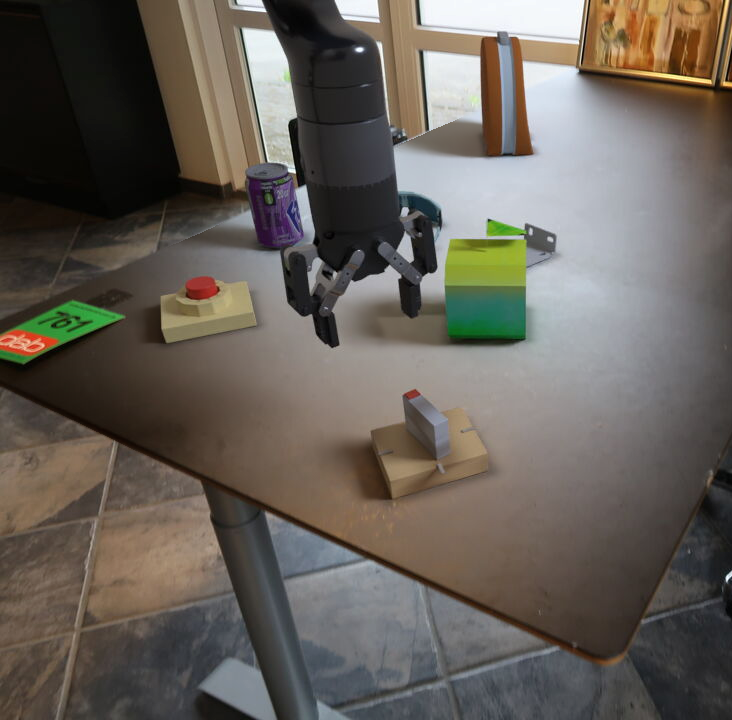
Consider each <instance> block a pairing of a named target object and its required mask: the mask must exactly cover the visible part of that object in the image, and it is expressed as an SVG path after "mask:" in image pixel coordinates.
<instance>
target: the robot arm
mask: <svg viewBox="0 0 732 720" xmlns="http://www.w3.org/2000/svg"><path fill="white" fill-rule="evenodd" d="M261 2H262V5H263V7H264V10H265V12H266V14H267V17H268V20H269V22H270V24H271V27H272V30H273V32H274V34H275V37H276V38H277V40H278V42H279V44H280V47H281V48H282V51H283V53H284V55H285V57H286V60H287V65H288V72H289V79H290V85H291V90H292V95H293V101H294V107H295V112H296V120H297V121H296V122H297V141H298V148H299V153H300V160H299V162H300V167H301V170H302V172H303V177H304V181H305V187H306V188H305V189H306V193H307V199H308V204H309V211H310V216H311V220H312V221H311V222H312V224H313V225H312V226H313V228H314V236H313V240H312V243H309V244H305V245H300V246H296V247H295V246H294V245H290V244H284V245H283V246H282V247H281V248H279V255H280V262H281V268H282V277H283V282H284V283H283V284H284V289H285V294H286V302H287V304H288V306H290V307H291V308H292V309H293V310H294V311H295V312H296V313H297V314H298V315H299V316H300V317H302V318H306V317H309V316H310V315H311V317H312V322H313V326H314V331H315V335H316V337H317V338H318V339H319V341H321V342H322V343H323V344H324V345H328V346H329V348H331V349H334V348H337V347H340V339H339V338H340V337H339V333H338V328H337V321H336V315H335V313H334V312H333V309H334V308H335V306H336V303H337V302H338V300H339V298H340V297H341V296H344V295H345V294H346V292H347V289H348V287H349V285H350V283H351V282H353V283H357V282H360V281H362V280H364V279H366V278H367V277H369V276H375V275H377V276H378V275H380V274H383V273H385V272H386V269H388V267H389V266H390V267H391V268H392V269H393V270H395V271H396V272H397V273H398V274H399V275H400V278H398V279H397V285H398V292H399V302H400V309H401V312H402V313H403V314H404V315H405V316H407V317H408V318H409V319H416V317H417V318H418V317H419V311H421V309H422V305H423V304H422V293H421V283H422V281H423V277H425V276H426V275H427V274H434V273H436V272H437V270H438V268H439V265H438V258H437V250H436V243H435V242H434V237H435V235H434V228H433V223H432V220H431V218H429V217H428V216H426V215H425V214H423V213H422V212H420V211H418V210H416V209H411V210H409V209H408V211H407V213H406V216H403V217H399V213H400V208H399V198H398V191H399V190H398V180H397V179H398V178H397V169H396V157H395V149H394V140H393V134H392V130H391V126H390V122H389V118H388V110H387V102H386V101H387V100H386V92H385V91H386V89H385V81H384V74H383V71H384V70H383V64H382V58H381V53H380V52H381V51H380V48H379V45H378V43H377V41H376V40H375V39H374V38H373V36H372V35H370V34H368V33H367V32H366V31H364V30H362V29H359V28H357V27H355V26H354V25H352V24H350V23H349V22H347V20H346V19H345V18H344V17H343V16H342V14H341V12H340V9H339V7H338V5H337V2H336V1H335V0H261ZM405 234H406V235H407V236H409V238H410V244H411V249H412V250H411V251H412V258H413V260H412V261H411V262H409V261H408V260H407V259H406V258H404V256H403V255H401V254H400V253H399V252H398V248H399V247H400V244H401V243H402V241H403V239H404V236H405ZM317 258H318V259H320V260H321V261H322V262H321V263H320V266H319V268H318V270H317V272H316V274H315V283H314V285H313V287H312V289H310V282H309V274H308V273H311V272H312V270H313V268H312V267H313V263H314V261H315V259H317ZM334 273H336V276H335V278H334ZM310 290H311V291H310Z"/></svg>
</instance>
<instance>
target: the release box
mask: <svg viewBox="0 0 732 720" xmlns="http://www.w3.org/2000/svg"><path fill="white" fill-rule="evenodd" d="M214 280H215V283H216V286H217V290H218V293H217V294H216V295H215V296H213V297H210V298H208V299H203V300H191V299H190V298H189V297H188V294H187V290H186V287H185V285H184V286H182V287H181V288H180V289H179V290H178V291H177V292H175V293H169V294H165V295H163V294H162V295H160V327H161V328H160V329H161V332H162V334H163V338H164V342H165V343H166V344H172V343H176V342H182V341H186V340H190V339H196V338H200V337H201V338H202V337H205V336H211V335H216V334H222V333H226V332H231V331H236V330H241V329H247V328H251V327H257V326H258V325H257V320H256V315H255V311H254V306H253V302H252V297H251V294H250V290H249V289H250V288H249V286H248V281H247V280H242V281H237V282H232V283H226V282H225V281H223V280H219V279H214Z"/></svg>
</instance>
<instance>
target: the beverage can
mask: <svg viewBox="0 0 732 720" xmlns="http://www.w3.org/2000/svg"><path fill="white" fill-rule="evenodd" d="M244 173H245V180H244V188H245V193H246V196H247V201H248V204H249V209H250V213H251V217H252V221H253V226H254V231H255V234H256V238H257V242H258V243H259V244H260V245H261V246H264V247H267V248H270V249H281V247H282V246H283V245H284V244H290V245H292V246H294V245H296V244H297V243H299V242H301V241H302V240H303V239H304V237H305V234H304V228H303V223H302V218H301V212H300V207H299V202H298V197H297V192H296V186H295V182H294V178H293V176H292V175H291V173H290V171H289V168H288V166H287V165H286V164H284V163H280V162H262V163H257V164H254V165H251V166H249V167H247V168H246V169H245V171H244Z"/></svg>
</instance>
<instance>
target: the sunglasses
mask: <svg viewBox="0 0 732 720" xmlns="http://www.w3.org/2000/svg"><path fill="white" fill-rule="evenodd" d="M398 198H399V208H400V213H399V218H401V214H402V212H403V208H407V209H408V211H409V210H411V209H416V210H418V211H420V212H422V213H423V214H425V215H426V216H428V217H429V218H431V220H432V225H433V224H434V225H436V233H435V235H434V242H435V244H436V242H437V241H438V239H439V237H440V234H441V233H440V232H441V231H442V227H443V220H444V219H443V214H442V207H441V205H440V204H439V203H438V202H436V200H433V199H432V198H430V197H428V196H426V195H425V194H421V193H418V192H414V191H408V190H398Z"/></svg>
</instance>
